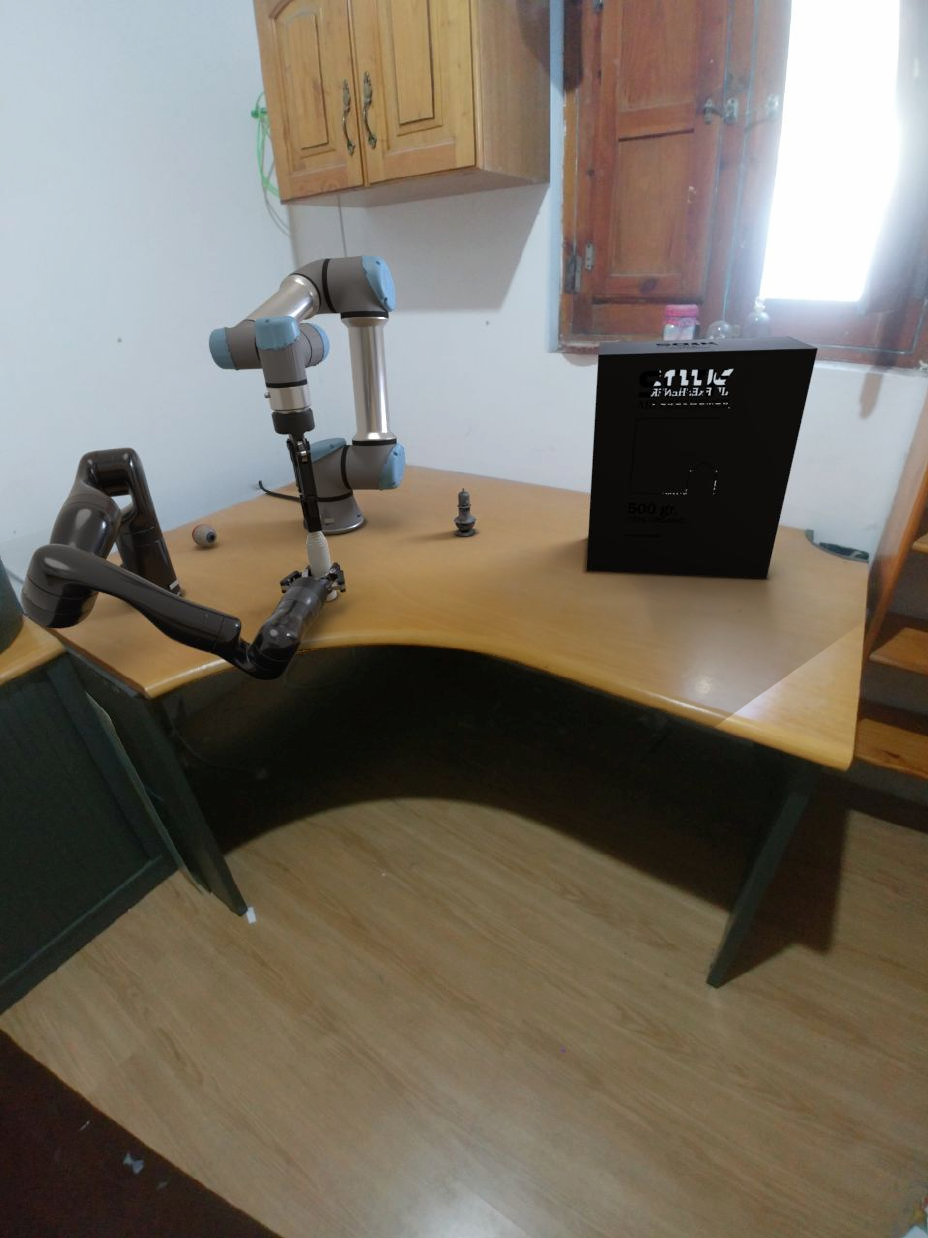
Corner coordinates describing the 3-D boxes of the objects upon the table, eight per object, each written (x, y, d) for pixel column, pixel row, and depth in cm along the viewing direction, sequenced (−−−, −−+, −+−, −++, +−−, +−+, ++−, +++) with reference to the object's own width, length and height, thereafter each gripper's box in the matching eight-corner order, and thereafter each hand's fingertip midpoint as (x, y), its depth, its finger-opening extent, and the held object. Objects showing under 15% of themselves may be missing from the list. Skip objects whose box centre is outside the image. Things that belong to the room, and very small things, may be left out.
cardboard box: (748, 541, 145) (788, 336, 123) (766, 578, 128) (817, 348, 106) (588, 536, 153) (599, 342, 130) (586, 571, 136) (598, 354, 113)
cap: (320, 522, 126) (319, 513, 125) (324, 528, 123) (323, 518, 122) (302, 525, 125) (300, 516, 124) (305, 531, 122) (304, 522, 120)
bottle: (328, 590, 134) (315, 515, 126) (340, 595, 132) (327, 519, 123) (312, 597, 132) (297, 521, 123) (324, 603, 129) (309, 526, 120)
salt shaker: (474, 536, 157) (472, 491, 151) (452, 536, 158) (449, 491, 152) (478, 528, 161) (476, 484, 155) (457, 527, 163) (454, 484, 157)
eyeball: (205, 552, 157) (199, 530, 154) (190, 548, 160) (184, 526, 157) (224, 544, 161) (219, 522, 158) (209, 540, 164) (203, 519, 161)
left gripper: (270, 621, 119) (297, 582, 134) (340, 620, 118) (360, 581, 132) (261, 587, 115) (290, 551, 130) (334, 586, 114) (355, 549, 129)
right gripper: (266, 404, 118) (289, 518, 129) (276, 419, 104) (301, 545, 116) (304, 399, 120) (324, 511, 132) (319, 414, 106) (339, 538, 118)
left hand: (325, 566), depth 131 cm, fingers closed on bottle, 4 cm apart
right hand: (313, 527), depth 124 cm, fingers closed on cap, 4 cm apart
